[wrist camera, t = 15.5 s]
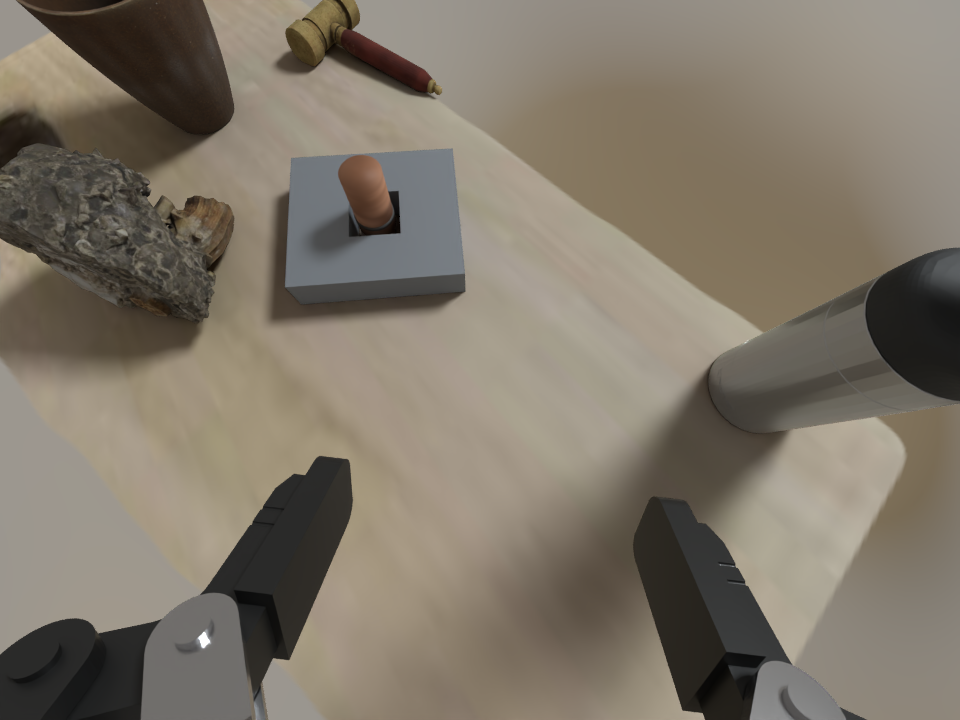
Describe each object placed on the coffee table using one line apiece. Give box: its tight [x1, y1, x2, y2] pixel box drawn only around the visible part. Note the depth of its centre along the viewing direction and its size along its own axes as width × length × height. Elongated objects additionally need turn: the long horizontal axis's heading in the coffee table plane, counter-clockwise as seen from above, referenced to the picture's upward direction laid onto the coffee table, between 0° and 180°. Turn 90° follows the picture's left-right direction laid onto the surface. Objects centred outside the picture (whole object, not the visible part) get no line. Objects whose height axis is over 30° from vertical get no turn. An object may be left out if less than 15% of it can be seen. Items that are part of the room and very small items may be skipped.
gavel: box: [285, 0, 442, 95], centre depth 52 cm, size 21×5×10 cm
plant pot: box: [16, 0, 234, 134], centre depth 43 cm, size 15×15×16 cm
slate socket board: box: [285, 149, 465, 304], centre depth 44 cm, size 18×16×4 cm
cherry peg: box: [338, 155, 396, 236], centre depth 41 cm, size 4×4×10 cm
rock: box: [0, 143, 234, 323], centre depth 37 cm, size 18×14×15 cm
